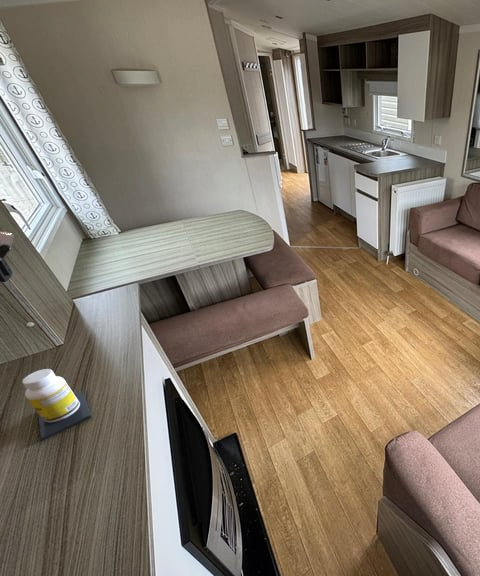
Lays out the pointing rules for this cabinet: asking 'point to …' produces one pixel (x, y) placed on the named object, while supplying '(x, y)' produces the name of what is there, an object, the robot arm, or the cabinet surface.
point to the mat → (55, 427)
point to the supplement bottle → (50, 395)
